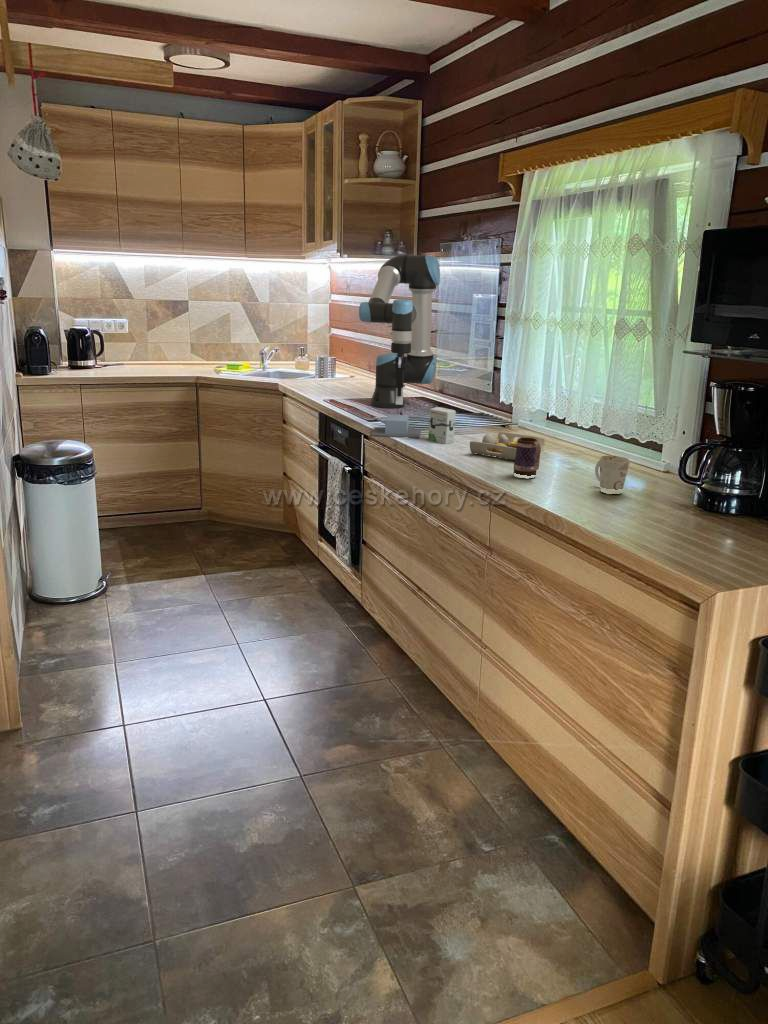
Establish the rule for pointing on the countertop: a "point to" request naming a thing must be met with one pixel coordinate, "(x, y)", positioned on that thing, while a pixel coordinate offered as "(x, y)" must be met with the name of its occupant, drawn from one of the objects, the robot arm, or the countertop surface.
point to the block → (396, 424)
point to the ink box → (442, 425)
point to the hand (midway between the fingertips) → (399, 404)
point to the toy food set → (501, 444)
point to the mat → (410, 434)
